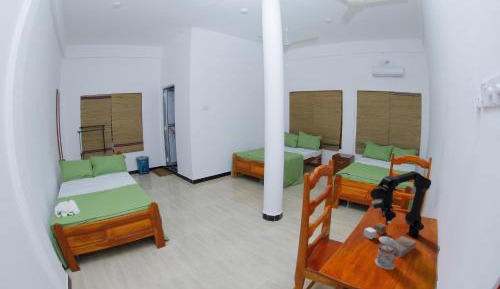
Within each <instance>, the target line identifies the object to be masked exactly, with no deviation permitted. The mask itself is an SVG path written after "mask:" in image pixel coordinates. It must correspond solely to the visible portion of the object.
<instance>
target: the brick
mask: <svg viewBox="0 0 500 289" xmlns="http://www.w3.org/2000/svg"><path fill="white" fill-rule="evenodd" d="M394 240H395V239H394ZM395 242H396V244H395V245H397V246H398V247H399V248H400V249H399V248H398V247H397V246H396V247H397V248H398V249H399V250H398V249H397V248H396V247H395V245H393V246H392V247H393V248H394V247H395V249H394V255H395V256H396V257H398V256H399V255H400V257H399V258H402V257H404V256H405V255H406V254H409V252H412V251H413V249H415V248H416V244H417V242H416V241H415V240H413V239H411V238H409V237H408V238H407V237H406V236H403V235H402V236H400V237H398V238H397V239H396V240H395ZM400 250H401V254H400V252H399V251H400ZM392 253H393V252H392ZM392 253H391V254H392Z"/></svg>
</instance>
